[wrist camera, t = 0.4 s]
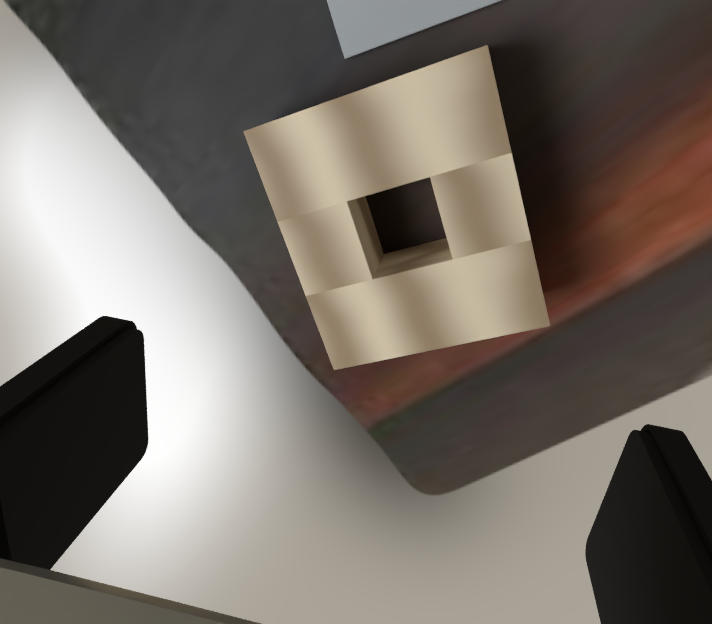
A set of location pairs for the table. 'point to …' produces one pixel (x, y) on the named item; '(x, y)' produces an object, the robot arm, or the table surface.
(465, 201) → the hole block
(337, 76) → the table surface
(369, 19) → the mat
